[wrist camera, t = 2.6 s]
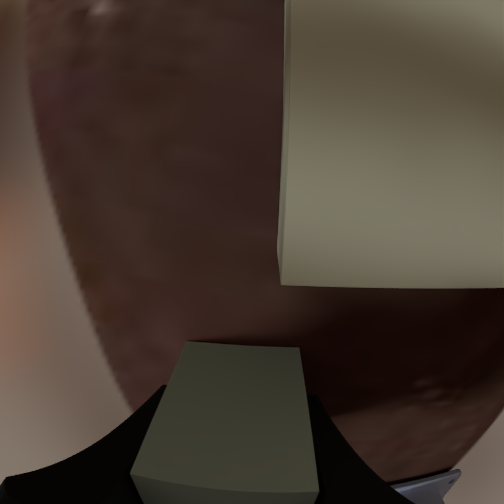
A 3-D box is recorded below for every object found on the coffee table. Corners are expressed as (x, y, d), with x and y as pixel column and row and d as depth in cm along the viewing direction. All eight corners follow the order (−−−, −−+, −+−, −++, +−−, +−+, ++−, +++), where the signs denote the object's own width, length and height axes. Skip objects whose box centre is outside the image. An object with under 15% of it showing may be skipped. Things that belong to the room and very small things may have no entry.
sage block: (288, 424, 12) (294, 548, 6) (193, 417, 12) (161, 536, 6) (299, 347, 11) (319, 491, 5) (186, 340, 11) (130, 473, 5)
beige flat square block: (514, 261, 9) (561, 285, 7) (277, 250, 10) (281, 284, 7) (513, 33, 7) (555, 17, 4) (284, -34, 7) (288, -85, 4)
